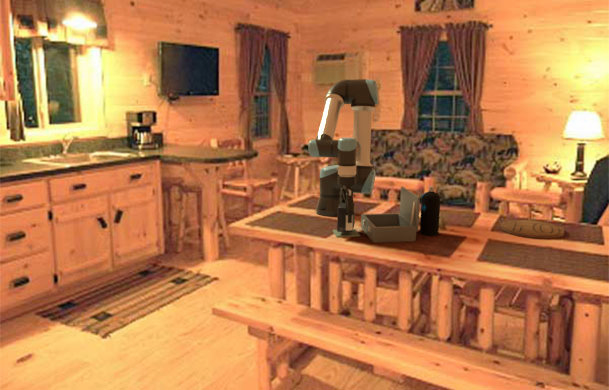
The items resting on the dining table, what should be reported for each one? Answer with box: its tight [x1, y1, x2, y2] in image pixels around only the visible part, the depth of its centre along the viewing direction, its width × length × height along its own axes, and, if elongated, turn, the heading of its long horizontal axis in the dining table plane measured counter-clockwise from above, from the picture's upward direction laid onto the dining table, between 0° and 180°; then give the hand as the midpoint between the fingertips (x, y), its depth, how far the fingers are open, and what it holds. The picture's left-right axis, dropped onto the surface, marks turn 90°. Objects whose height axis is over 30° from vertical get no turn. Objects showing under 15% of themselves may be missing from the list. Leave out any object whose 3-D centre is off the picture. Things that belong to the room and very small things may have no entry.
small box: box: [336, 202, 356, 232], centre depth 216 cm, size 11×6×10 cm, turn 168°
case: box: [360, 186, 421, 244], centre depth 214 cm, size 22×19×18 cm
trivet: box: [500, 219, 565, 240], centre depth 220 cm, size 25×25×2 cm
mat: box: [332, 228, 361, 238], centre depth 217 cm, size 10×10×1 cm
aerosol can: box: [418, 185, 442, 237], centre depth 215 cm, size 8×8×20 cm
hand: (346, 226), depth 217 cm, fingers closed on small box, 11 cm apart
